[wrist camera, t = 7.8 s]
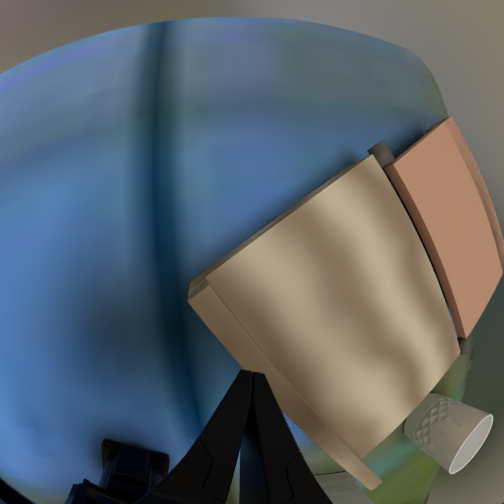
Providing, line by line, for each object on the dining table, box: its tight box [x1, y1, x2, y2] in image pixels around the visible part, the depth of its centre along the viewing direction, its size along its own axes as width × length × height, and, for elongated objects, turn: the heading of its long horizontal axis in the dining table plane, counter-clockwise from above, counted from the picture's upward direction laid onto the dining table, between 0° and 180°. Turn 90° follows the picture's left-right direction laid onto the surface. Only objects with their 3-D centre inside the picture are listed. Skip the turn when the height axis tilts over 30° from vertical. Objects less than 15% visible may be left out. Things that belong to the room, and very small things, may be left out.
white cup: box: [404, 393, 493, 474], centre depth 21 cm, size 8×8×10 cm
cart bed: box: [188, 140, 471, 491], centre depth 19 cm, size 18×23×8 cm
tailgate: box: [384, 116, 504, 339], centre depth 22 cm, size 3×19×13 cm
